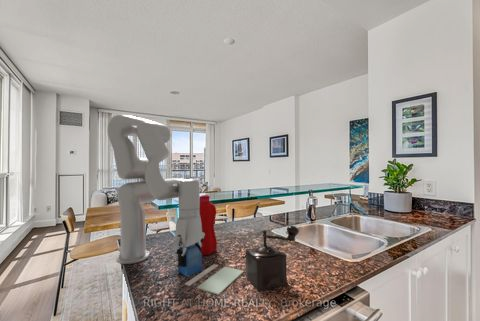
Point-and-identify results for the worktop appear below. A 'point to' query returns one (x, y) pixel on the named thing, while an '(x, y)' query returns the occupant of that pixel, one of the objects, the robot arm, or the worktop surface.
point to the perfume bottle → (191, 261)
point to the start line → (201, 275)
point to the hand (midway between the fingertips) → (190, 261)
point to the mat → (220, 280)
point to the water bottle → (208, 225)
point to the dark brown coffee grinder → (268, 263)
